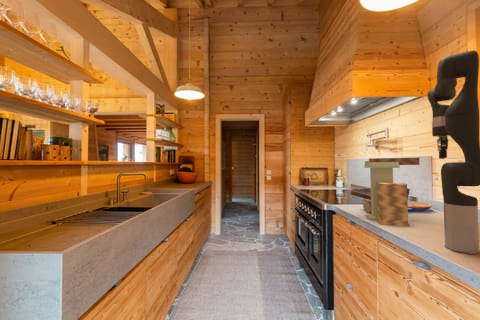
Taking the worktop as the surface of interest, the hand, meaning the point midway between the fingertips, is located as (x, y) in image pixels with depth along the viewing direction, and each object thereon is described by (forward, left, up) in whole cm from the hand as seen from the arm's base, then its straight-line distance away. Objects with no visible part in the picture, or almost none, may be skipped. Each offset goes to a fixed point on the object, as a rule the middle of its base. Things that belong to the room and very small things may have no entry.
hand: (442, 158), depth 108 cm
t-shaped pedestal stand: (+4, +27, -35) cm, 44 cm away
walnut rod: (+6, +21, -3) cm, 22 cm away
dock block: (-4, +21, -35) cm, 41 cm away
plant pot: (+32, +23, -36) cm, 53 cm away
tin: (+20, +37, -36) cm, 55 cm away
